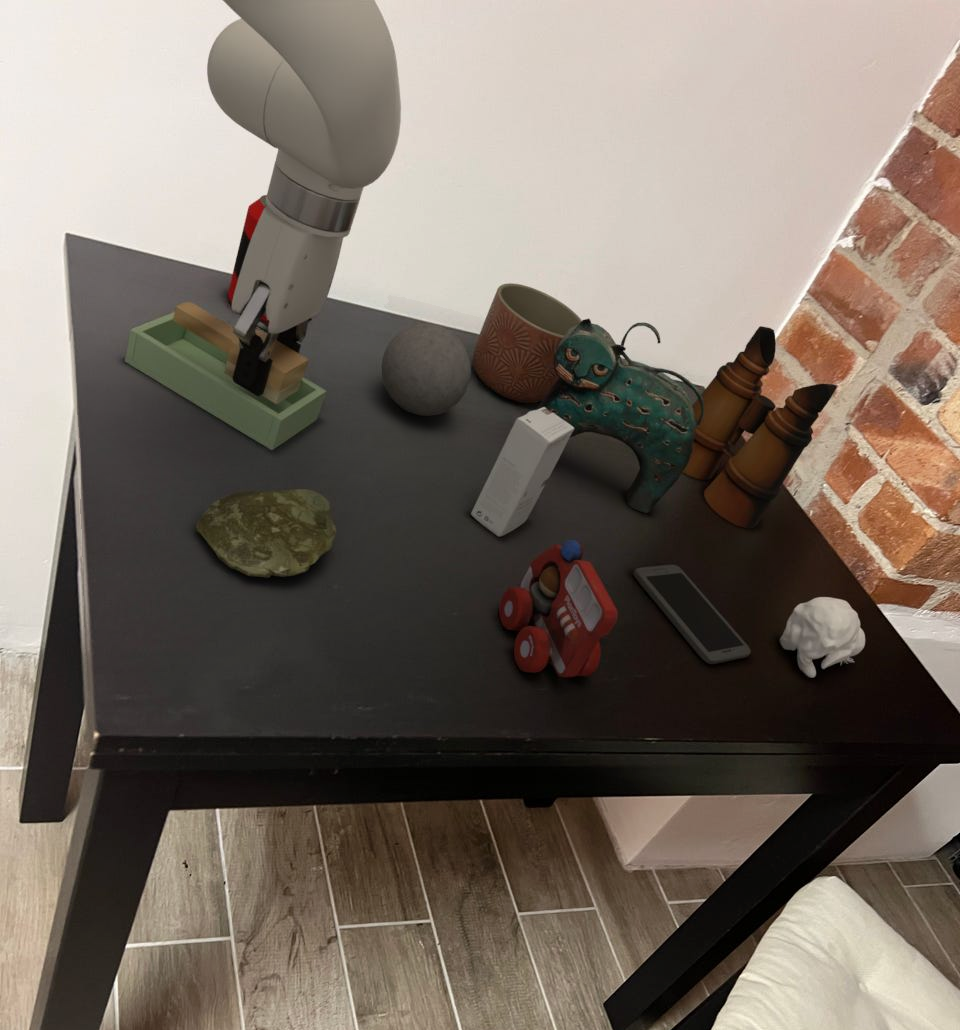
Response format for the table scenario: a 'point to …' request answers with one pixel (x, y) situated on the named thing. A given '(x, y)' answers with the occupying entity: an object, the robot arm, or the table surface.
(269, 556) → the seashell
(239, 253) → the soda can
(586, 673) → the toy fire truck
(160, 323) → the bin
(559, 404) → the ceramic cat
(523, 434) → the cosmetic box
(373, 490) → the table surface
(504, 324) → the planter
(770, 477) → the binoculars
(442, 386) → the decorative ball
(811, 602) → the white frog figurine
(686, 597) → the cell phone
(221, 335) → the brush
